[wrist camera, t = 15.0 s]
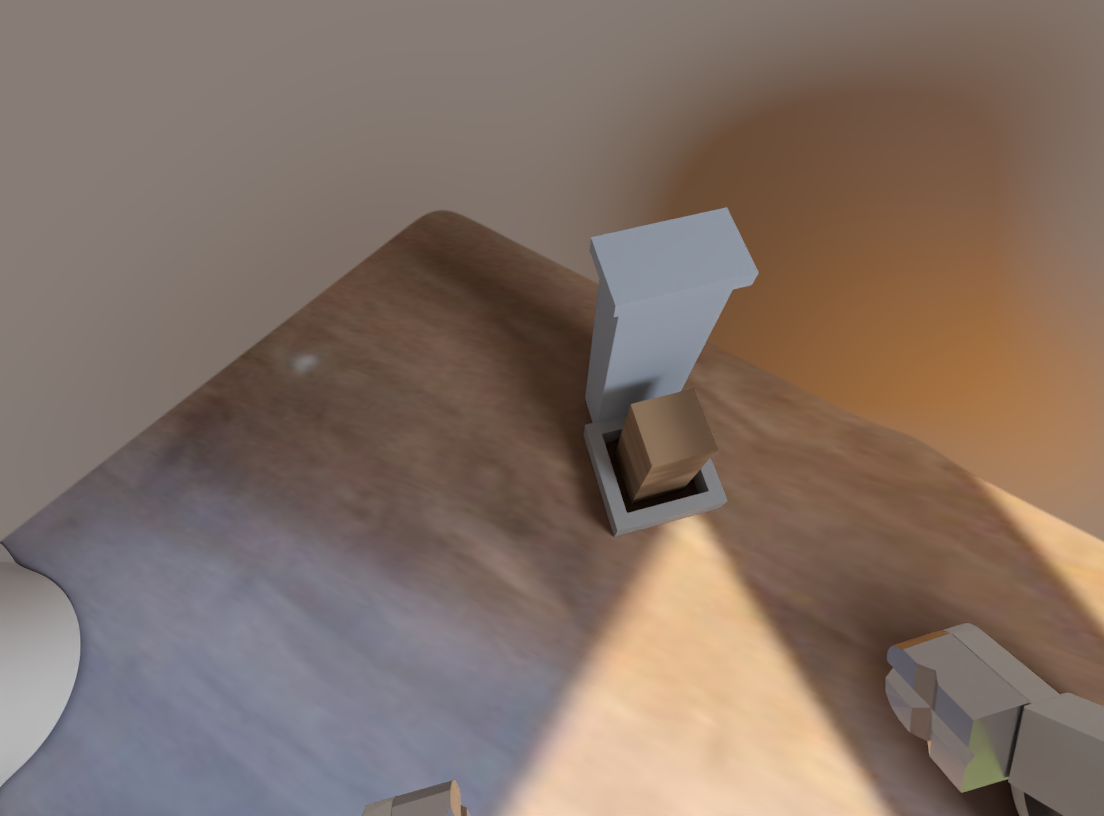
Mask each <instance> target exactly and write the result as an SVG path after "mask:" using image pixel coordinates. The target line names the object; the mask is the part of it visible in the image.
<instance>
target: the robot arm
mask: <svg viewBox="0 0 1104 816" xmlns="http://www.w3.org/2000/svg"><path fill="white" fill-rule="evenodd" d="M79 660H80V630H79V624H78V620H77V617H76V613H75V611H74V608H73V606H72V604H71V602H70V600H69V599H68V597H67V596H66V594H65V593H64V592H63V591H62V590H61V589H60V588H59V587H58V586H57V585H56V584H55V583H54V582H52V581H51V580H50V579H48V578H46V577H45V576H43V575H41V574H38V573H36V572H33V571H31V570H28V569H26V568H24V567H22V566H20V565H18V564H17V563H16V562H15V561H14V559H13V558H12V556H11V555H10V553H9V552H8V551H7V549H6V548H5V547H4V546H3V545H2V544H1V543H0V787H1V786H2V785H3V783H4V782H5V781H6V780H7V779H9V778H10V777H11V776H12V775H13V774H14V773H15V772H16V771H17V770H18V769H19V768H20V767H21V766H22V765H23V764H24V763H25V762H26V761H27V760H28V759H29V758H30V757H31V756H32V755H33V754H34V753H35V752H36V751H37V749H38V748H39V747H40V746H41V744H42V743H43V742H44V741H45V739H46V738H47V736H48V735H49V734H50V732H51V731H52V729H53V728H54V726H55V724H56V723H57V721H58V719H59V718H60V716H61V714H62V712H63V710H64V708H65V706H66V704H67V702H68V699H69V697H70V694H71V692H72V689H73V686H74V683H75V679H76V676H77V671H78V666H79ZM887 661H888V663H889V664H890V665H891V666H892V667H893V668H892V670H891V671H890V673H889V674H888V675H887V677H886V678H885V692H886V695H887V697H888V700H889V703H890V705H891V708H892V709H893V711H894V712H895V714H896V716H897V717H898V719H899V720H900V721H901V723H902V724H903V725H904V726H905V727H906V729H907V730H908V731H909V732H910V733H912V734H914V735H916V736H918V737H920V738H922V739H924V740H926V741H927V742H928V749H929V756H930V757H931V758H932V759H933V761H934V762H935V763H936V764H937V765H938V766H939V768H940V769H941V770H942V771H943V772H944V773H945V775H946V776H947V777H948V778H949V779H950V780H951V782H952V783H953V784H954V785H955V786H956V787H957V789H958V790H959V791H960V792H961V793H963V792H966V791H969V790H973V789H976V788H980V787H983V786H986V785H990V784H993V783H996V782H1000V781H1003V780H1007V779H1009V780H1008V783H1010V784H1012V785H1013V786H1015V787H1017V788H1018V789H1020V790H1022V791H1023V792H1025V793H1027V794H1028V795H1030V796H1032V797H1033V798H1035V799H1037V800H1038V801H1040V802H1041V803H1043V804H1045V805H1046V806H1048V807H1050V808H1051V809H1053V810H1055V811H1056V812H1058V813H1060V814H1061V815H1063V816H1104V706H1101V705H1099V704H1096V703H1094V702H1091V701H1089V700H1086V699H1084V698H1081V697H1078V696H1076V695H1073V694H1071V693H1068V692H1067V693H1063V694H1059V693H1057V692H1056V691H1055V690H1054V689H1053V688H1051V687H1050V686H1049V685H1048V684H1046V683H1045V682H1044V681H1043V680H1042V679H1040V678H1039V677H1038V676H1037V675H1036V674H1034V673H1033V672H1032V671H1031V670H1029V669H1028V668H1027V667H1026V666H1025V665H1023V664H1022V663H1021V662H1020V661H1018V660H1017V659H1016V658H1015V657H1014V656H1012V655H1011V654H1010V653H1009V652H1008V651H1006V650H1005V649H1004V648H1003V647H1001V646H1000V645H999V644H998V643H997V642H995V641H994V640H993V639H992V638H991V637H989V636H988V635H987V634H986V633H984V632H983V631H982V630H981V629H980V628H978V627H977V626H975V625H972V624H970V623H964V624H960V625H957V626H954V627H951V628H948V629H945V630H942V631H935V632H932V633H929V634H926V635H923V636H920V637H917V638H914V639H911V640H908V641H904V642H901V643H898V644H895V645H892V646H891V647H890V648H889V650H888V652H887ZM362 816H470V815H469V812H468V810H467V808H466V807H464V806H462V805H461V802H460V790H459V788H458V786H457V783H456V781H455V780H452V781H448V782H445V783H441V784H438V785H434V786H431V787H428V788H424V789H421V790H417V791H414V792H410V793H407V794H403V795H400V796H395V797H392V798H388V799H385V800H382V801H379V802H375V803H372V804H369V805H366V806H365V809H364V811H363V814H362Z"/></svg>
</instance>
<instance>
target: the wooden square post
mask: <svg viewBox="0 0 1104 816" xmlns="http://www.w3.org/2000/svg"><path fill="white" fill-rule="evenodd" d="M716 451H717V446H716V444H715V441H714V438H713V436H712V433H711V431H710V428H709V426H708V423H707V421H706V418H705V416H704V413H703V411H702V408H701V406H700V403H699V401H698V398H697V396H696V393H695V390H694V388H693V389H689V390H685V391H681V392H677V393H673V394H669V395H665V396H661V397H657V398H653V399H649V400H645V401H641V402H637V403H633V404H631V405H630V408H629V411H628V414H627V417H626V420H625V423H624V427H623V430H622V433H621V436H620V439H619V442H618V445H617V449H616V452H615V457H616V460H617V463H618V466H619V469H620V472H621V475H622V478H623V482H624V485H625V488H626V491H627V494H628V497H629V500H630V503H631V504H633V503H637V502H641V501H645V500H648V499H652V498H656V497H660V496H663V495H667V494H671V493H675V492H678V491H682V490H683V489H684V488H685V486H686V485H687V484H688V483H689V482H690V481H691V479H692V478H693V477H694V476H695V475H696V474H697V473H698V471H699V470H700V469H701V468H702V467H703V466H704V464H705V463H706V462H707V461H708V460H709V459H710V458H711V456H712V455H713V454H714V453H715V452H716Z"/></svg>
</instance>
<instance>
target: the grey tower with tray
mask: <svg viewBox="0 0 1104 816" xmlns="http://www.w3.org/2000/svg"><path fill="white" fill-rule="evenodd" d="M590 253H591V255H592V258H593V261H594V264H595V267H596V270H597V272H598V275H599V278H600V279H599V288H598V296H597V304H596V312H595V321H594V329H593V337H592V345H591V354H590V362H589V370H588V378H587V387H586V395H585V400H586V403H587V406H588V410H589V413H590V416H591V419H592V422H593V423H590V424H586V425H585V428H584V435H583V436H584V440H585V443H586V446H587V450H588V453H589V456H590V459H591V463H592V466H593V469H594V473H595V476H596V479H597V483H598V486H599V489H600V492H601V496H602V499H603V502H604V506H605V509H606V512H607V516H608V519H609V522H610V525H611V529H612V532H613V535H614V537H616V536H620V535H624V534H627V533H631V532H635V531H638V530H642V529H646V528H649V527H653V526H657V525H660V524H664V523H668V522H671V521H675V520H679V519H682V518H686V517H690V516H693V515H697V514H701V513H704V512H708V511H712V510H715V509H718V508H720V507H721V506H722V505H723V504H725V503H726V502H727V498H726V495H725V493H724V490H723V488H722V485H721V483H720V480H719V477H718V475H717V472H716V470H715V467H714V465H713V462H712V459H711V458H710V459H709V460H708V461H707V462H706V463H705V464H704V466H703V467H702V468H701V469H700V470H699V471H698V473H697V474H696V475H695V476H694V477H693V481H694V483H695V486H696V489H697V491H698V494H697V495H693V496H689V497H685V498H682V499H678V500H674V501H671V502H667V503H663V504H659V505H656V506H652V507H648V508H645V509H641V510H637V511H633V512H630V513H627V511H626V508H625V505H624V502H623V499H622V496H621V492H620V489H619V486H618V483H617V480H616V477H615V474H614V470H613V467H612V464H611V461H610V458H609V455H608V451H607V448H606V445H605V443H608V442H612V441H616V440H619V439H620V436H621V433H622V430H623V427H624V423H625V420H626V417H627V414H628V411H629V408H630V405H631V404H633V403H637V402H641V401H645V400H649V399H653V398H657V397H661V396H665V395H669V394H673V393H677V392H681V390H682V388H683V386H684V384H685V382H686V380H687V378H688V376H689V374H690V372H691V370H692V368H693V366H694V364H695V362H696V360H697V358H698V356H699V354H700V353H701V351H702V349H703V347H704V345H705V343H706V341H707V339H708V337H709V335H710V333H711V331H712V329H713V327H714V325H715V323H716V321H717V319H718V317H719V315H720V313H721V311H722V309H723V307H724V306H725V304H726V302H727V300H728V297H729V296H730V294H731V292H732V290H733V289H736V288H741V287H745V286H750V285H752V283H753V282H754V280H755V278H756V276H757V275H758V270H757V268H756V266H755V264H754V262H753V260H752V258H751V256H750V254H749V252H748V250H747V248H746V246H745V244H744V242H743V240H742V237H741V235H740V234H739V231H738V229H737V227H736V225H735V223H734V221H733V219H732V217H731V215H730V213H729V211H728V209H727V208H722V209H718V210H713V211H709V212H704V213H699V214H695V215H691V216H686V217H682V218H677V219H672V220H668V221H663V222H659V223H654V224H650V225H645V226H641V227H636V228H632V229H627V230H622V231H618V232H613V233H609V234H604V235H600V236H596V237H591V244H590Z"/></svg>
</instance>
